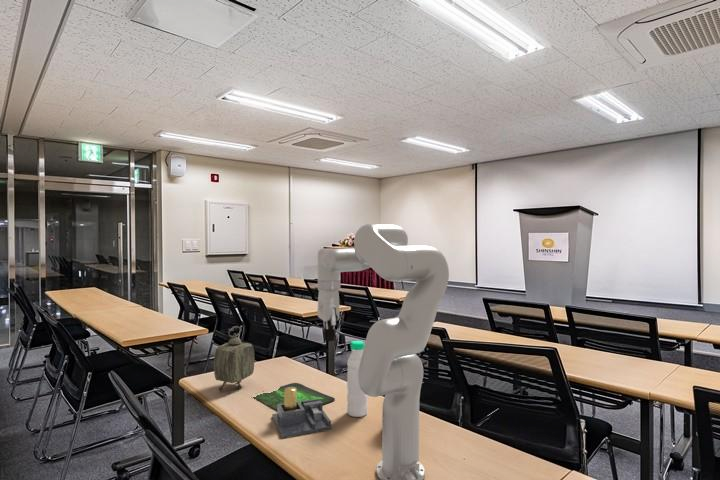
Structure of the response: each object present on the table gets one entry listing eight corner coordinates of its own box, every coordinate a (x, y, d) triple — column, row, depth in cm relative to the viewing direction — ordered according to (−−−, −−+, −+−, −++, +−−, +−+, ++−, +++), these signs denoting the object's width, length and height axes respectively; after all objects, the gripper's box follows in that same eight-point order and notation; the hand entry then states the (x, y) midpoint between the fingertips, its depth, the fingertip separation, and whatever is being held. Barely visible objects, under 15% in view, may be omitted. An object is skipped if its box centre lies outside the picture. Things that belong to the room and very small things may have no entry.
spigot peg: (297, 420, 136) (297, 390, 136) (285, 422, 135) (285, 392, 135) (294, 415, 140) (294, 386, 140) (283, 417, 138) (283, 387, 138)
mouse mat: (248, 396, 160) (248, 394, 160) (294, 382, 175) (294, 380, 175) (288, 419, 140) (288, 416, 140) (337, 401, 156) (337, 398, 156)
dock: (331, 429, 132) (332, 413, 132) (281, 438, 126) (281, 422, 126) (317, 409, 147) (317, 395, 147) (272, 417, 141) (272, 402, 141)
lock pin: (321, 420, 136) (321, 412, 136) (314, 421, 136) (314, 413, 135) (314, 409, 145) (314, 402, 145) (307, 410, 144) (307, 403, 144)
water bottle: (365, 418, 140) (365, 345, 140) (345, 416, 141) (345, 343, 141) (369, 410, 147) (369, 339, 147) (349, 408, 148) (349, 338, 148)
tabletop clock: (239, 380, 177) (239, 322, 177) (256, 383, 173) (256, 324, 173) (213, 392, 164) (213, 329, 164) (231, 395, 160) (231, 331, 160)
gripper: (312, 283, 143) (312, 336, 143) (325, 288, 129) (324, 347, 130) (332, 282, 146) (332, 334, 146) (347, 287, 132) (347, 344, 132)
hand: (329, 340), depth 138 cm, fingers closed
